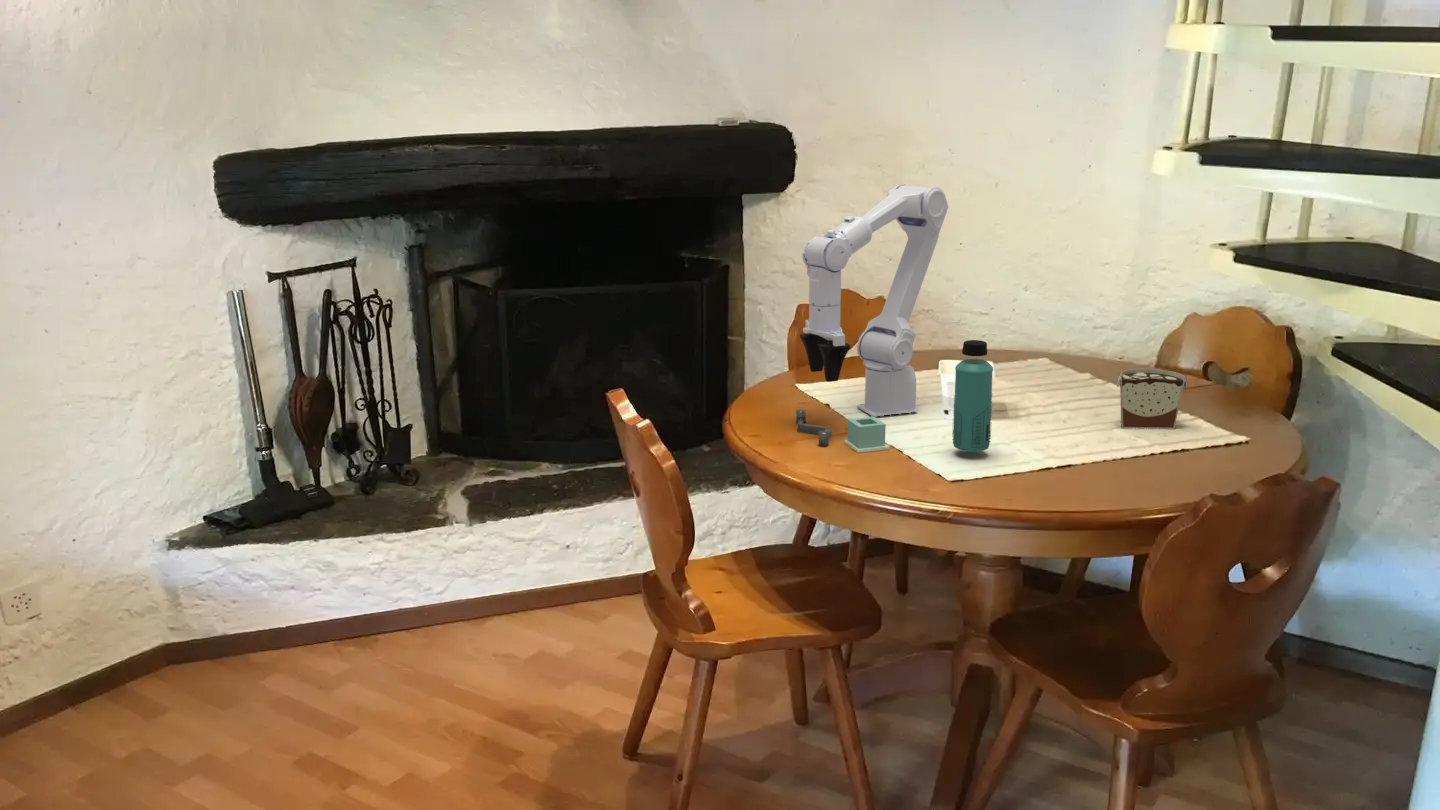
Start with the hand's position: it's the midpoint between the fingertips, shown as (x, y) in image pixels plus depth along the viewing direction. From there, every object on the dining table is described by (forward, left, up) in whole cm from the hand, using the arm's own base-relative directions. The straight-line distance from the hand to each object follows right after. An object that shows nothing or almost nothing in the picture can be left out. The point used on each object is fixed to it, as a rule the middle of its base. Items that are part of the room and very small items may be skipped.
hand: (824, 376), depth 206 cm
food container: (-57, +18, -10) cm, 61 cm away
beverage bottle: (-18, +23, -10) cm, 31 cm away
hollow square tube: (-3, +13, -9) cm, 16 cm away
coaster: (-3, +13, -10) cm, 17 cm away
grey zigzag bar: (+3, +3, -10) cm, 11 cm away
